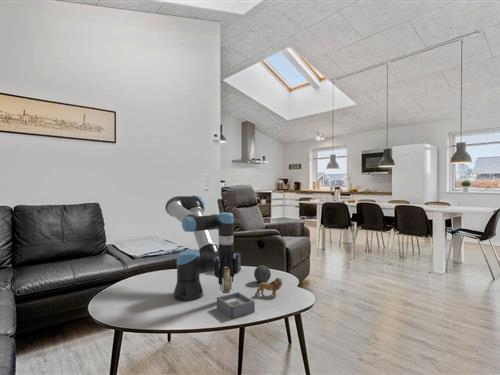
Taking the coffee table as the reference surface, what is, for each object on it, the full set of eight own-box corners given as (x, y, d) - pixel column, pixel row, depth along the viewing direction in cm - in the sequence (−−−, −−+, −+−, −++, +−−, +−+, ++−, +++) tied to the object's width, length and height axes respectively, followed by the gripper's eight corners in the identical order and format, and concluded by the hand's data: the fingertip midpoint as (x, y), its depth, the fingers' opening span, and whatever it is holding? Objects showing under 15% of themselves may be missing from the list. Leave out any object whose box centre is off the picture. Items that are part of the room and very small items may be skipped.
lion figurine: (281, 293, 158) (281, 276, 158) (283, 296, 153) (283, 279, 153) (254, 294, 157) (254, 277, 157) (255, 297, 152) (255, 280, 152)
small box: (241, 270, 202) (241, 253, 202) (238, 273, 195) (237, 255, 195) (223, 269, 205) (223, 252, 205) (219, 271, 199) (219, 254, 199)
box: (216, 307, 139) (216, 297, 139) (238, 302, 146) (238, 292, 146) (231, 318, 127) (231, 307, 127) (254, 312, 134) (254, 301, 134)
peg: (220, 291, 149) (220, 267, 148) (227, 289, 151) (227, 266, 151) (224, 294, 145) (224, 269, 145) (231, 292, 148) (231, 268, 147)
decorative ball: (256, 285, 170) (256, 268, 170) (252, 280, 180) (252, 264, 180) (273, 284, 172) (272, 267, 172) (268, 279, 182) (267, 263, 182)
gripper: (214, 247, 140) (214, 295, 140) (244, 242, 149) (244, 288, 150) (207, 244, 146) (207, 290, 147) (236, 240, 156) (236, 284, 156)
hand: (225, 289), depth 148 cm, fingers closed on peg, 4 cm apart
